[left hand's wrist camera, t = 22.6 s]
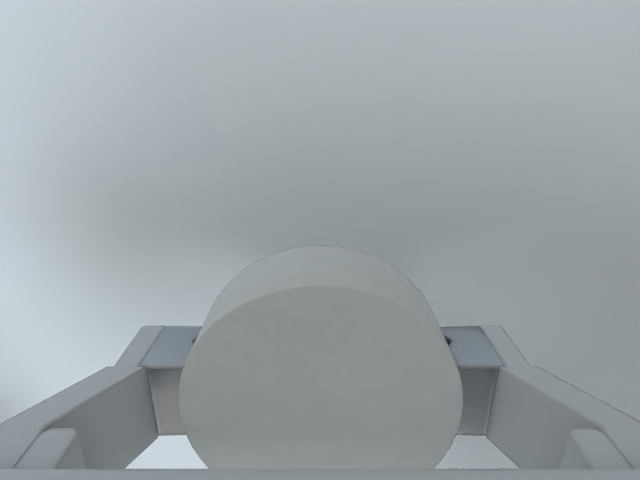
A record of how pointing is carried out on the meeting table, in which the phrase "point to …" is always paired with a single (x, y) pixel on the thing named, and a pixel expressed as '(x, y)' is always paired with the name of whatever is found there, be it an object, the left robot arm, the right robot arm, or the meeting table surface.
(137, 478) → the left robot arm
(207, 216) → the meeting table surface
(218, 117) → the meeting table surface
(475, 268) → the meeting table surface
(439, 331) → the lid
